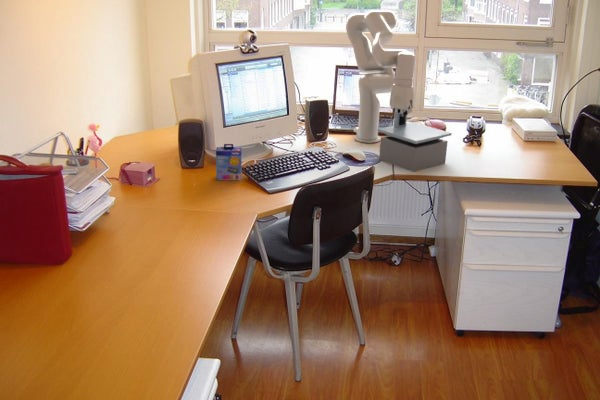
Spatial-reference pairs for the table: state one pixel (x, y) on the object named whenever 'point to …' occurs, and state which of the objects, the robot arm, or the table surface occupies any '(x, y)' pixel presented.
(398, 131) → the lid
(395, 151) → the tub
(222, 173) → the ink cartridge box
